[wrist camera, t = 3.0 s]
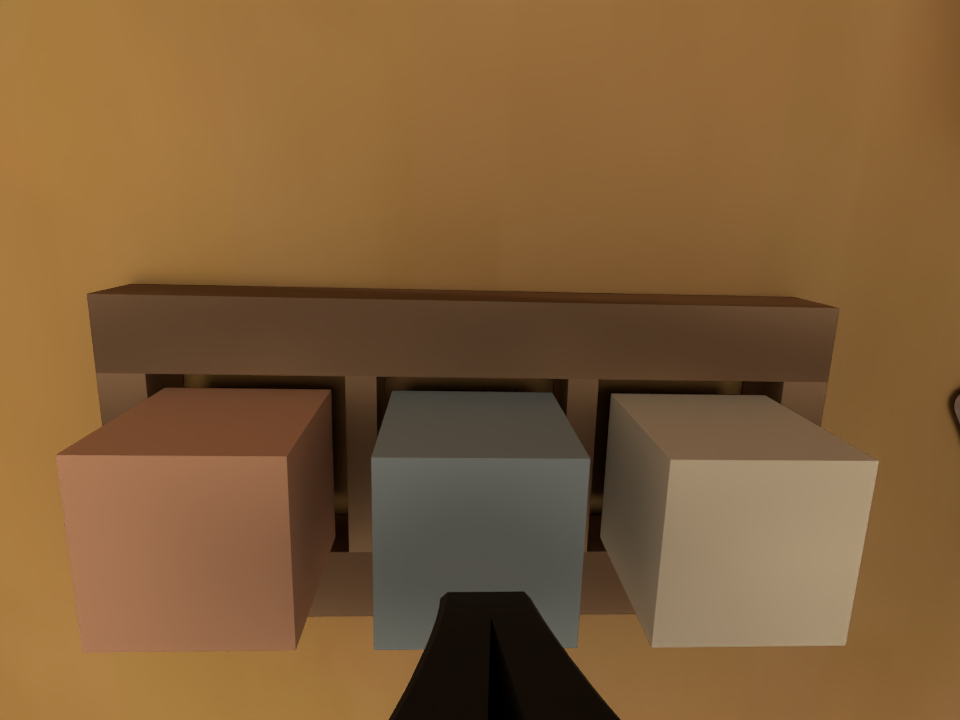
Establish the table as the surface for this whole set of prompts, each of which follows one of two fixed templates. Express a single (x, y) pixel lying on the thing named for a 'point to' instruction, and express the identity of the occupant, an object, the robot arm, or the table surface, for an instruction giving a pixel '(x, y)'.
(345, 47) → the table surface
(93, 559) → the terracotta key
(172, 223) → the table surface
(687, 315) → the socket board
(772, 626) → the cream key
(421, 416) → the slate blue key
